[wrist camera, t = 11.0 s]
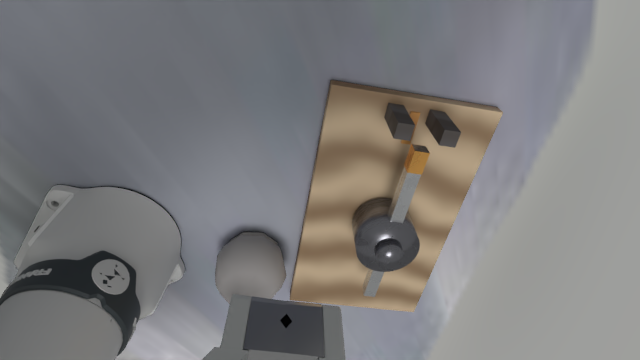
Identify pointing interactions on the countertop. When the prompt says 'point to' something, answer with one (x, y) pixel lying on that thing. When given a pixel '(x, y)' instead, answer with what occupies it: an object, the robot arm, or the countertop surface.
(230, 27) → the countertop surface
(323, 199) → the stand
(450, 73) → the countertop surface
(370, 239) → the capstan
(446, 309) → the countertop surface
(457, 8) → the countertop surface
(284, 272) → the potion bottle
